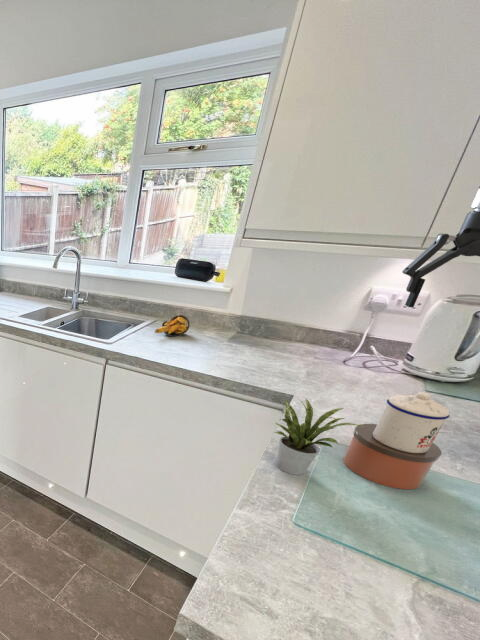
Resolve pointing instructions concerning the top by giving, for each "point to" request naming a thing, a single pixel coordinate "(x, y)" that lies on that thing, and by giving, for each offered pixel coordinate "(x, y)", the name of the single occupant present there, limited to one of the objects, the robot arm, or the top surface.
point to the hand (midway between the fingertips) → (448, 309)
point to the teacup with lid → (410, 422)
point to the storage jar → (387, 460)
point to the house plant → (302, 439)
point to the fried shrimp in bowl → (175, 326)
